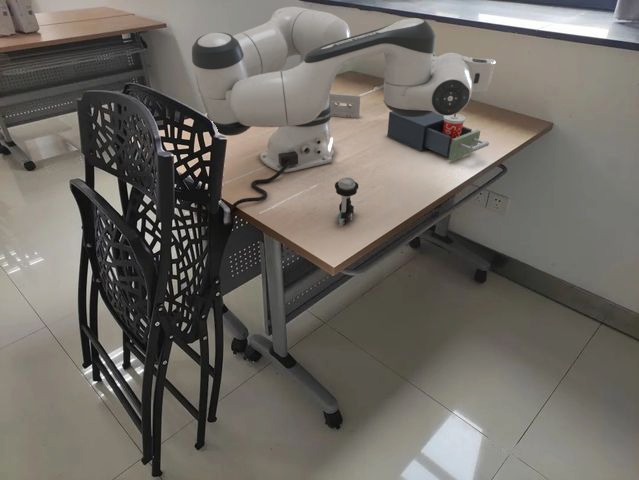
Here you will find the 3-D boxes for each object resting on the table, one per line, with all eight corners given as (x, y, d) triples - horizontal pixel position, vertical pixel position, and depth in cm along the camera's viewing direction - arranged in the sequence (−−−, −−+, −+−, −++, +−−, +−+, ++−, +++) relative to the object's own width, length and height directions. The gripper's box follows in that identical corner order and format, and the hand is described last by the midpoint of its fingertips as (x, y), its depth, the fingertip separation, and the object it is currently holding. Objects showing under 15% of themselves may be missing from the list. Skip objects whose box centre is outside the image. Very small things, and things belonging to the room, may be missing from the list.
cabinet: (448, 141, 143) (452, 116, 138) (421, 151, 137) (424, 126, 132) (413, 127, 153) (416, 103, 148) (387, 136, 146) (389, 112, 142)
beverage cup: (434, 145, 136) (441, 99, 128) (448, 140, 139) (456, 94, 131) (450, 152, 132) (459, 105, 124) (464, 147, 135) (473, 100, 127)
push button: (350, 230, 103) (352, 191, 97) (328, 225, 105) (329, 187, 99) (359, 215, 108) (361, 178, 102) (338, 211, 110) (339, 174, 104)
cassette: (325, 115, 162) (325, 94, 157) (327, 113, 163) (327, 92, 159) (358, 118, 159) (359, 96, 155) (359, 116, 161) (360, 95, 156)
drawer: (490, 156, 132) (495, 136, 129) (465, 167, 127) (469, 146, 123) (441, 136, 144) (444, 117, 140) (416, 145, 138) (419, 125, 135)
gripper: (400, 86, 104) (404, 70, 115) (493, 92, 100) (488, 74, 111) (403, 57, 100) (407, 43, 111) (500, 62, 96) (494, 47, 107)
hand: (448, 59), depth 111 cm, fingers open, 8 cm apart
